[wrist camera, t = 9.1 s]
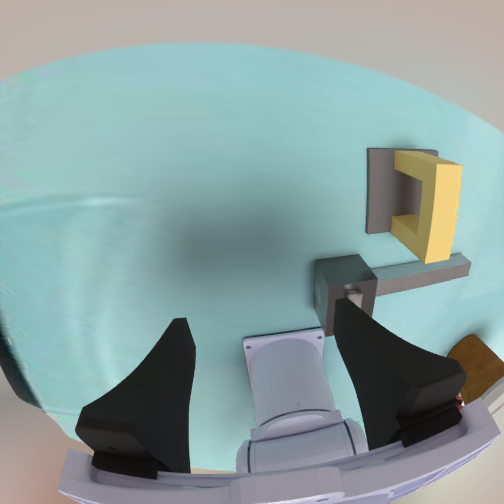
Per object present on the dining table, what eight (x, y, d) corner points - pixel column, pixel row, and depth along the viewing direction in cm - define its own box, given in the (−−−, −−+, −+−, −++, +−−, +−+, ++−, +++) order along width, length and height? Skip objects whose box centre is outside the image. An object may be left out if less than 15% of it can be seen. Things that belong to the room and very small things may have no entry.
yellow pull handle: (413, 229, 22) (449, 259, 17) (390, 232, 22) (424, 263, 17) (418, 151, 19) (462, 165, 14) (394, 150, 19) (436, 164, 14)
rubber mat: (429, 225, 22) (431, 226, 22) (365, 232, 22) (367, 234, 22) (435, 150, 19) (438, 151, 19) (367, 148, 19) (369, 149, 19)
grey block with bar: (454, 279, 25) (478, 304, 21) (314, 307, 25) (327, 344, 21) (463, 238, 23) (492, 261, 19) (314, 260, 23) (332, 294, 19)
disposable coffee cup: (490, 330, 31) (528, 379, 21) (454, 372, 35) (484, 423, 24) (468, 320, 29) (514, 379, 18) (427, 368, 33) (461, 430, 22)
